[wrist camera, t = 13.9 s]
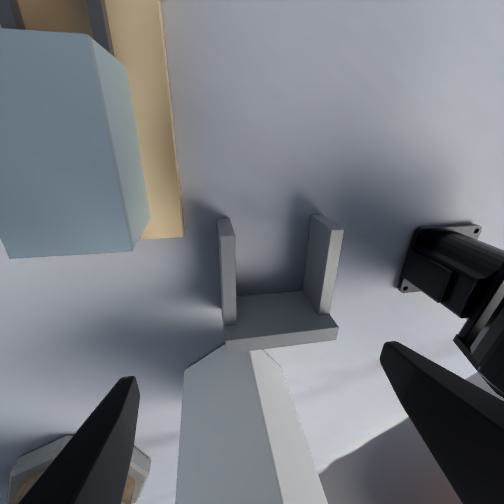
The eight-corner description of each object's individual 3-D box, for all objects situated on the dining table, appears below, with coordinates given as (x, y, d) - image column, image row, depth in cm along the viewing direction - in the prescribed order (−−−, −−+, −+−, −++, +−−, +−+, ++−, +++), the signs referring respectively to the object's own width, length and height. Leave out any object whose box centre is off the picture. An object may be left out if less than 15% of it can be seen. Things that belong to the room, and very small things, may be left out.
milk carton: (183, 369, 25) (146, 895, 8) (244, 329, 24) (351, 814, 7) (227, 402, 28) (268, 827, 11) (282, 368, 27) (418, 767, 10)
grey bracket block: (-49, -140, 10) (-332, -448, 5) (96, -117, 10) (-5, -357, 5) (64, 221, 16) (-2, 266, 11) (150, 218, 17) (128, 258, 11)
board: (150, -95, 12) (144, -123, 11) (184, 229, 19) (183, 237, 17) (-82, -130, 10) (-123, -168, 9) (46, 236, 17) (33, 245, 16)
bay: (217, 218, 19) (222, 246, 14) (322, 214, 20) (356, 238, 16) (221, 309, 22) (226, 354, 18) (310, 300, 24) (336, 339, 19)
